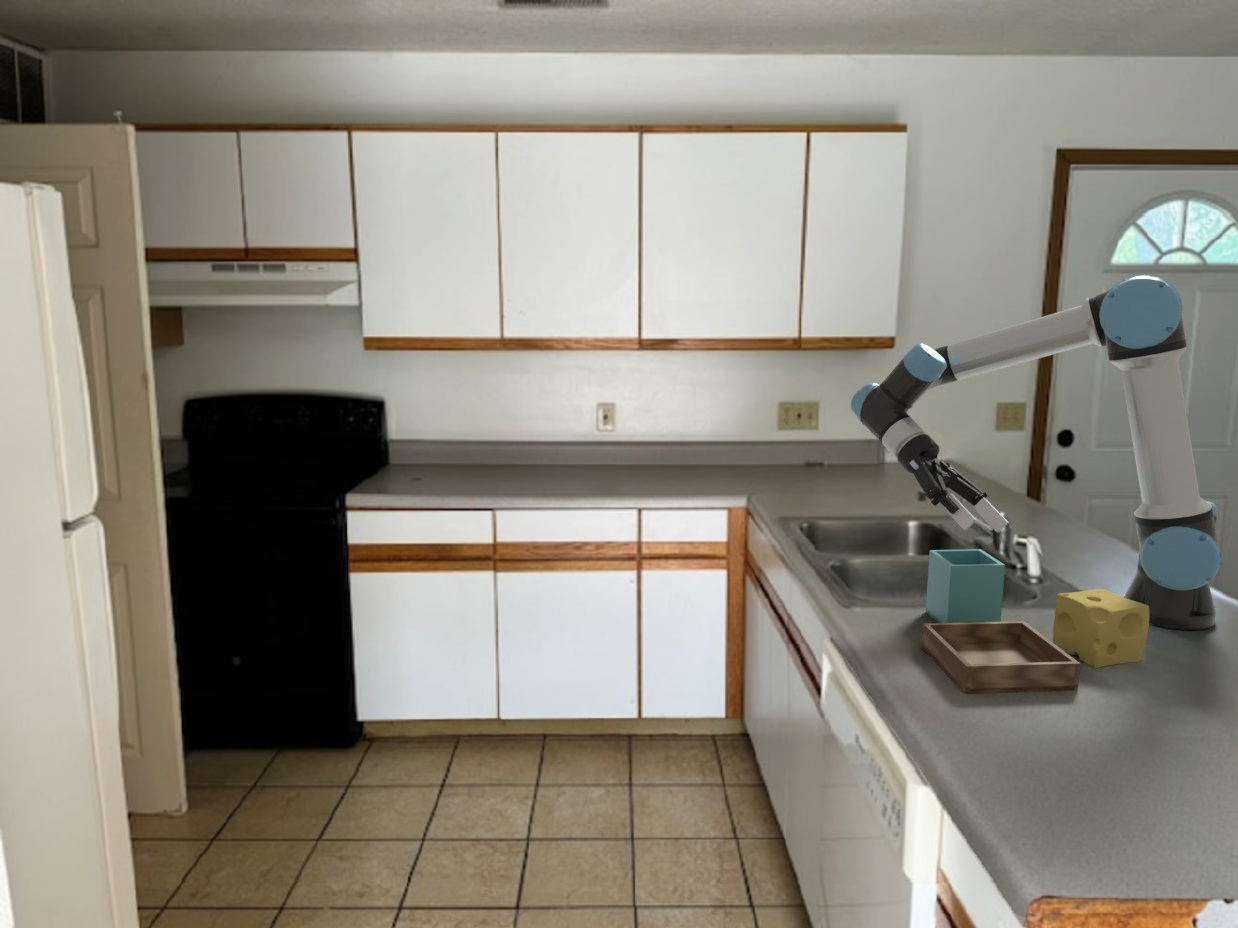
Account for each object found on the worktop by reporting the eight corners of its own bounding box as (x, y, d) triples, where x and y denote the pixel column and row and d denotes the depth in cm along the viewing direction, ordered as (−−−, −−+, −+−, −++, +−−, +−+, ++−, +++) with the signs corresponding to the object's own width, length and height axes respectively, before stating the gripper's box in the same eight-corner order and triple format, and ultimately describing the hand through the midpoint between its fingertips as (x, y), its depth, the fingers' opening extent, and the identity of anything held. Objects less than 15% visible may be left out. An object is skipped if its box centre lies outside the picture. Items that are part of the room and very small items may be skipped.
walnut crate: (1021, 645, 158) (1023, 621, 157) (1077, 690, 140) (1080, 663, 139) (921, 647, 157) (922, 623, 156) (964, 693, 140) (966, 666, 139)
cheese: (1094, 669, 148) (1100, 612, 146) (1047, 645, 158) (1052, 591, 156) (1145, 662, 151) (1152, 605, 149) (1096, 638, 161) (1101, 585, 159)
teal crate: (976, 610, 175) (980, 549, 172) (999, 629, 165) (1005, 564, 163) (925, 611, 174) (929, 550, 172) (946, 631, 165) (950, 566, 162)
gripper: (928, 465, 184) (1001, 541, 172) (865, 455, 167) (940, 539, 155) (954, 438, 181) (1029, 514, 169) (891, 425, 163) (971, 508, 152)
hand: (987, 526), depth 162 cm, fingers open, 13 cm apart
